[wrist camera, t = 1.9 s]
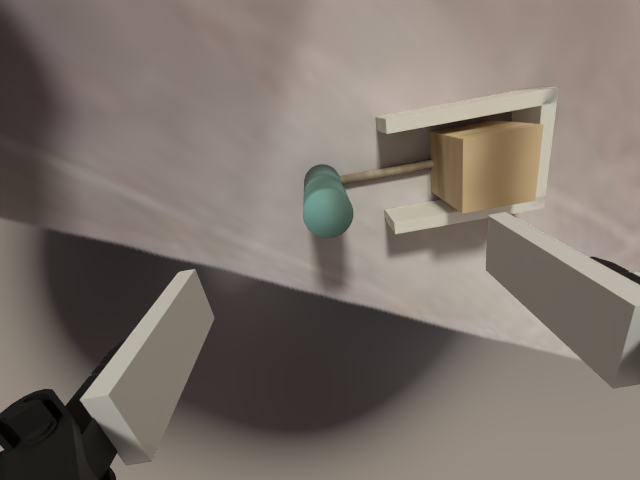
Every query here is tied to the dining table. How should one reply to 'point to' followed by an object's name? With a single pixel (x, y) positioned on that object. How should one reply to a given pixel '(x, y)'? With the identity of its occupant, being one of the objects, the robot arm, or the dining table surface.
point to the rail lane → (522, 103)
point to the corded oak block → (443, 173)
